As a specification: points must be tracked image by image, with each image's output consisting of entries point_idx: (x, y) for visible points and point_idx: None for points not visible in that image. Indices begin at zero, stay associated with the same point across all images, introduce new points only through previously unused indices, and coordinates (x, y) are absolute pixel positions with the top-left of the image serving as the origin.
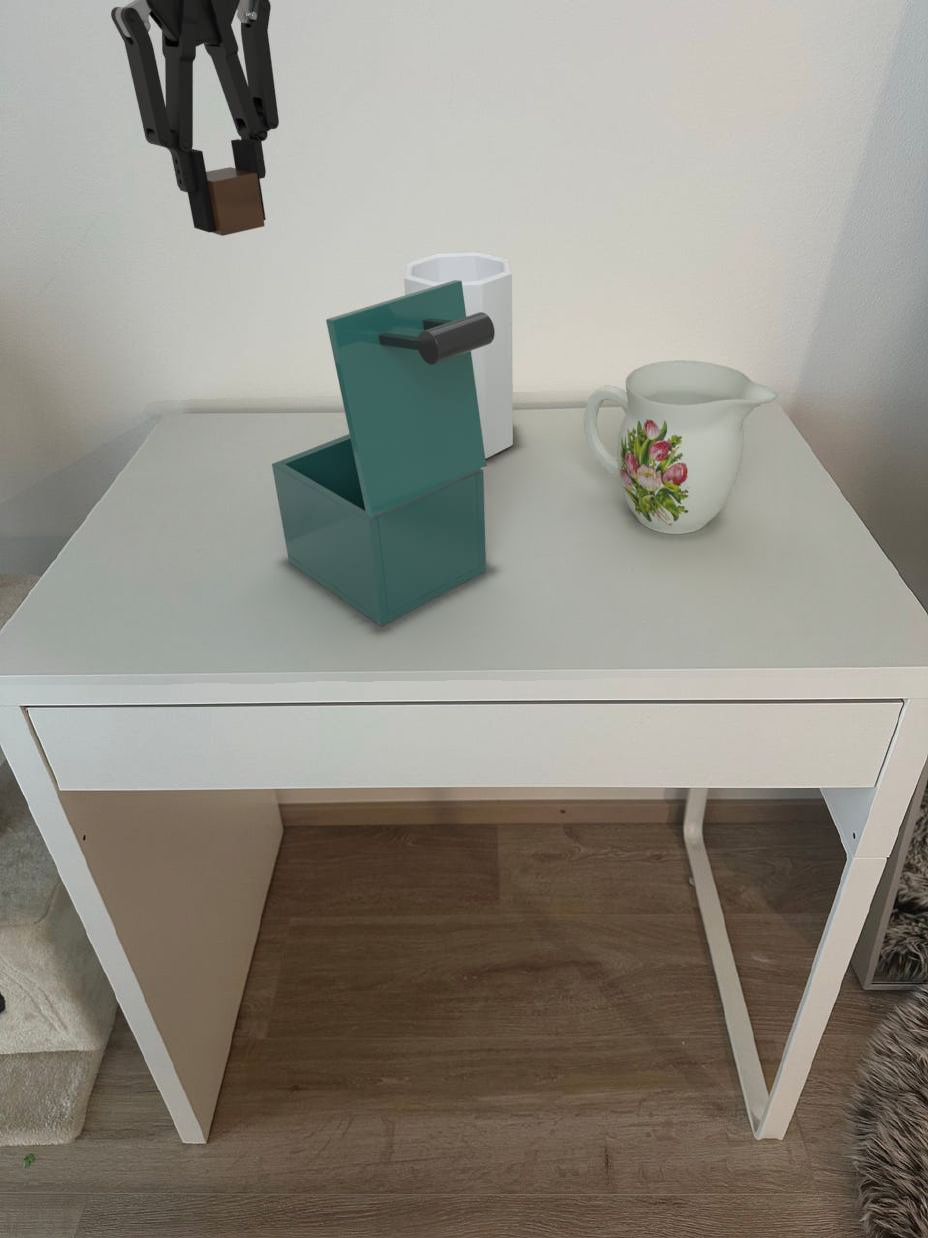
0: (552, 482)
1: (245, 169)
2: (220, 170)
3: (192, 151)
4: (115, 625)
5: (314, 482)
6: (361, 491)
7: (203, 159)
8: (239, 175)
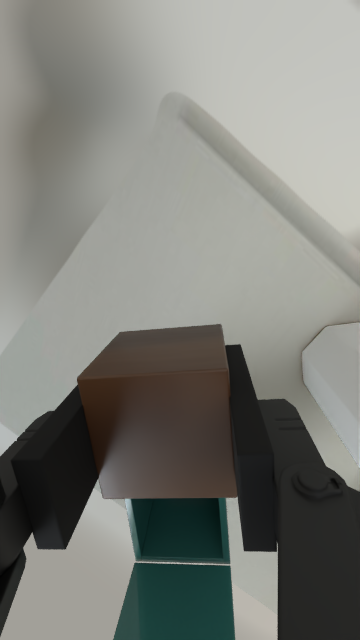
0: (337, 453)
1: (233, 451)
2: (178, 393)
3: (36, 531)
4: (35, 408)
5: (131, 508)
6: (130, 578)
7: (74, 526)
8: (186, 490)
